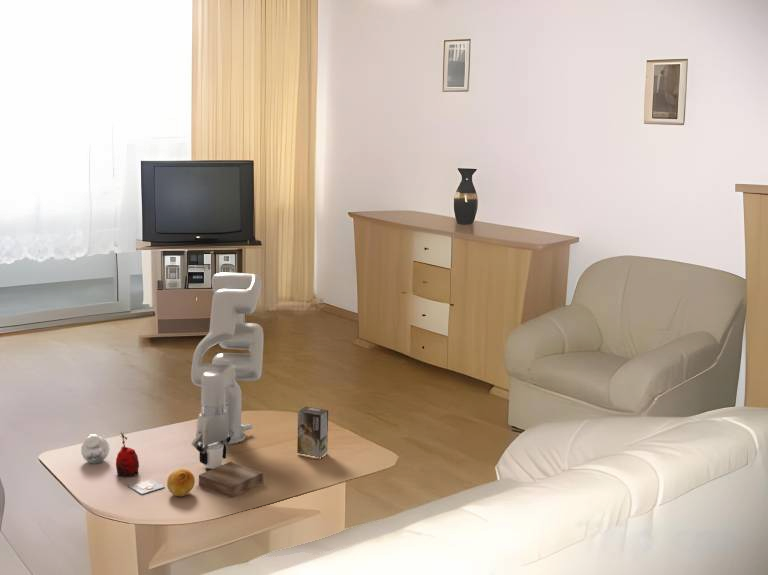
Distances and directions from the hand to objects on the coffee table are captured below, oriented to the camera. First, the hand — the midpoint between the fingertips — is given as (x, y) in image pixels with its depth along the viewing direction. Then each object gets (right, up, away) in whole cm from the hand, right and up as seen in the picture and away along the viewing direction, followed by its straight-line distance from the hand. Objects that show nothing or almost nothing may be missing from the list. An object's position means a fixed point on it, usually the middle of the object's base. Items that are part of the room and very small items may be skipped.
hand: (213, 459), depth 290 cm
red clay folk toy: (-26, -3, -7) cm, 27 cm away
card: (-17, -5, -17) cm, 25 cm away
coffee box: (+31, -1, +15) cm, 35 cm away
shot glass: (0, -2, 0) cm, 2 cm away
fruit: (-6, -7, -21) cm, 22 cm away
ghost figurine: (-39, -1, +1) cm, 39 cm away
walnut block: (+8, -6, -12) cm, 15 cm away
